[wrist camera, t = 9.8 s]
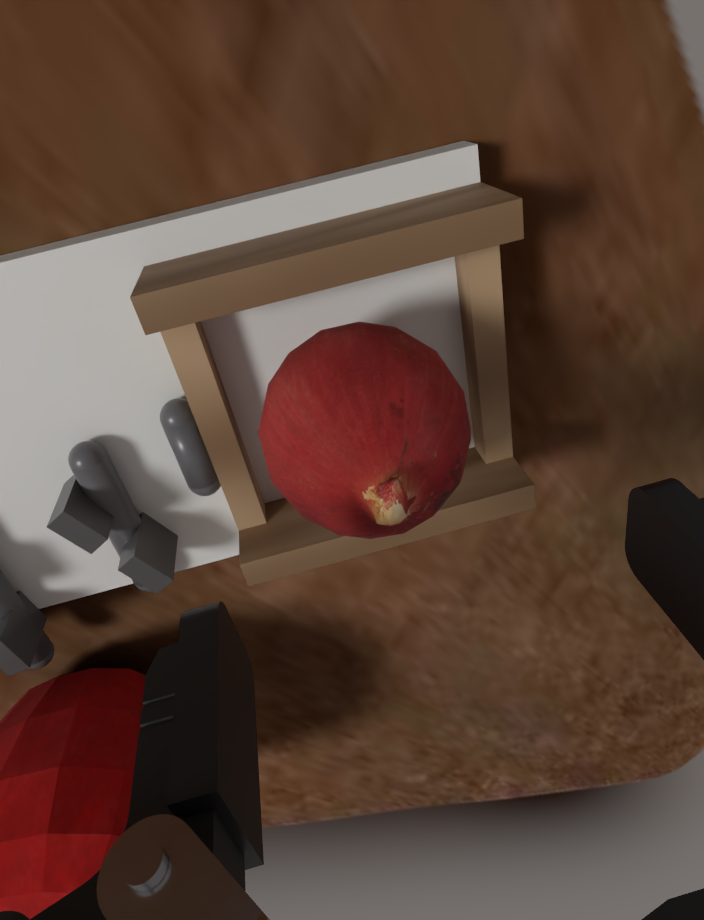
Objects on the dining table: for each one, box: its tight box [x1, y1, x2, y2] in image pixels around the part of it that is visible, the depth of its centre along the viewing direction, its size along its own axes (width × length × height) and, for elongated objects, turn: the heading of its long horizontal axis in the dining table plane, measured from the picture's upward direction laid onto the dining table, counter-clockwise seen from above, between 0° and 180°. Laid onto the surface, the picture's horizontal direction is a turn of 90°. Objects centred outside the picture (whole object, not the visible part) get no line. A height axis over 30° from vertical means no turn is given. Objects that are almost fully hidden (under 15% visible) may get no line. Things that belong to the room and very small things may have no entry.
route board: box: [0, 141, 480, 676], centre depth 20 cm, size 14×24×4 cm, turn 102°
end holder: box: [130, 182, 536, 587], centre depth 19 cm, size 10×10×3 cm
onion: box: [258, 322, 471, 539], centre depth 17 cm, size 6×6×8 cm
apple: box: [0, 668, 146, 919], centre depth 23 cm, size 10×10×11 cm
